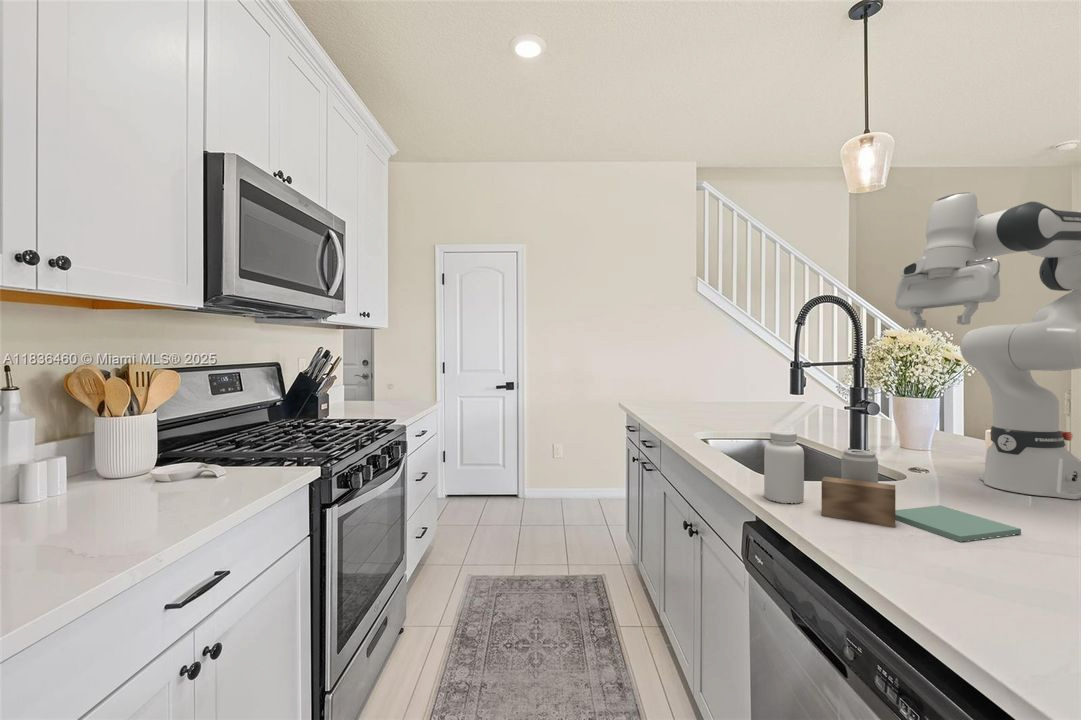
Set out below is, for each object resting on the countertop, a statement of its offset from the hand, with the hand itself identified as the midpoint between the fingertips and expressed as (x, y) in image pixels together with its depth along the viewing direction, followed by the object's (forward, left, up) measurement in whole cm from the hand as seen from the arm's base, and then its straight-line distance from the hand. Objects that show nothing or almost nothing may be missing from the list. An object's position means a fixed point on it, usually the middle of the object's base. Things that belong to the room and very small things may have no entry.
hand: (940, 325), depth 110 cm
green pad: (+17, +14, -38) cm, 44 cm away
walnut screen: (+30, +7, -38) cm, 49 cm away
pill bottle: (+35, -8, -39) cm, 52 cm away
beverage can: (+25, +2, -39) cm, 46 cm away
